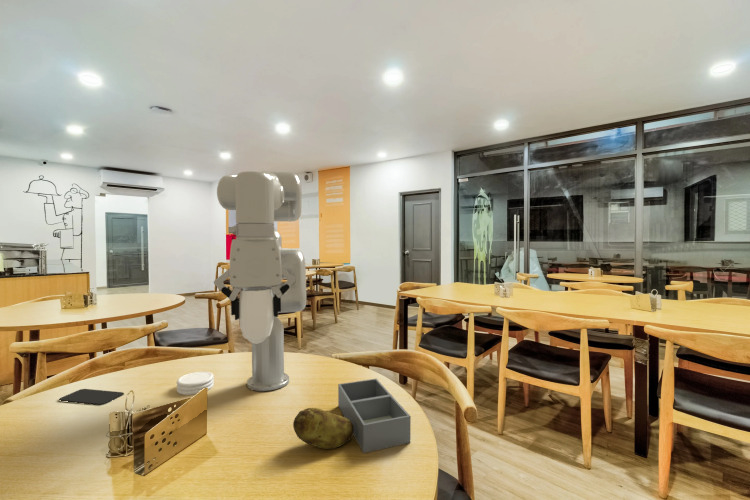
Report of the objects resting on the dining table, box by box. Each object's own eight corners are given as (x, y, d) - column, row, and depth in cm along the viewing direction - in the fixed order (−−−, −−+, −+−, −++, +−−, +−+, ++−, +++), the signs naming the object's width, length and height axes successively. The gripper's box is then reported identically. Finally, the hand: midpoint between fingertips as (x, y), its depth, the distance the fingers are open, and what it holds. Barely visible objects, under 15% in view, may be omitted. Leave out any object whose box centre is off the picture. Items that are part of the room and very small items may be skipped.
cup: (261, 375, 80) (260, 284, 79) (282, 383, 76) (281, 288, 74) (232, 386, 74) (230, 289, 73) (253, 396, 70) (251, 292, 69)
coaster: (215, 380, 113) (215, 369, 113) (211, 393, 104) (211, 381, 103) (180, 384, 110) (180, 373, 110) (173, 398, 100) (173, 386, 100)
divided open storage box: (338, 405, 95) (338, 384, 95) (376, 399, 99) (376, 378, 99) (363, 452, 75) (363, 425, 74) (410, 442, 78) (410, 416, 78)
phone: (102, 404, 95) (56, 399, 98) (102, 407, 95) (56, 402, 98) (126, 392, 103) (82, 388, 105) (126, 395, 103) (82, 391, 105)
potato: (350, 457, 73) (350, 419, 73) (289, 455, 74) (289, 418, 73) (354, 434, 81) (354, 400, 81) (300, 433, 82) (299, 399, 82)
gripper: (207, 232, 67) (209, 325, 68) (300, 232, 73) (300, 317, 73) (211, 232, 74) (213, 316, 75) (295, 232, 80) (296, 310, 80)
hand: (256, 316), depth 74 cm, fingers closed on cup, 7 cm apart
